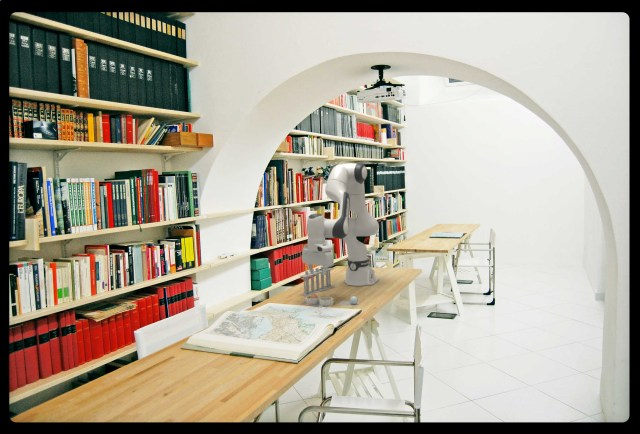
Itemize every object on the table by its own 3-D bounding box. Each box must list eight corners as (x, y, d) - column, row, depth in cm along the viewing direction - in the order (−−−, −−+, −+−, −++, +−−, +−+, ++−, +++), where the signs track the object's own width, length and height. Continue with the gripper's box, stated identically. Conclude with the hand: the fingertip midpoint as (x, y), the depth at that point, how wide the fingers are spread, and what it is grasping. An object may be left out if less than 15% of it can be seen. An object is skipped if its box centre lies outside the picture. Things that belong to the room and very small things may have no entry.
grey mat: (342, 301, 244) (342, 300, 243) (360, 303, 238) (360, 303, 238) (336, 304, 238) (336, 303, 238) (354, 307, 233) (354, 306, 233)
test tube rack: (306, 296, 257) (305, 272, 256) (300, 295, 260) (299, 271, 258) (334, 287, 276) (333, 264, 275) (328, 286, 279) (327, 264, 278)
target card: (310, 300, 249) (310, 299, 249) (335, 303, 241) (335, 302, 241) (299, 305, 240) (299, 304, 240) (325, 308, 232) (325, 307, 232)
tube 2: (324, 301, 244) (323, 296, 244) (335, 302, 240) (335, 297, 240) (316, 304, 239) (316, 299, 238) (328, 306, 235) (328, 301, 235)
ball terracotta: (307, 301, 243) (309, 294, 242) (311, 299, 247) (313, 292, 246) (313, 304, 241) (315, 297, 240) (318, 302, 245) (319, 295, 244)
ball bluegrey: (352, 302, 239) (352, 294, 239) (359, 303, 237) (359, 295, 237) (348, 304, 236) (348, 296, 236) (355, 305, 234) (355, 297, 234)
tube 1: (311, 299, 249) (310, 294, 248) (322, 301, 245) (321, 296, 245) (303, 302, 243) (303, 297, 243) (314, 304, 239) (314, 299, 239)
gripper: (298, 245, 246) (299, 272, 247) (325, 248, 231) (326, 277, 232) (307, 243, 250) (308, 269, 251) (335, 247, 235) (336, 274, 236)
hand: (317, 273), depth 242 cm, fingers open, 8 cm apart
